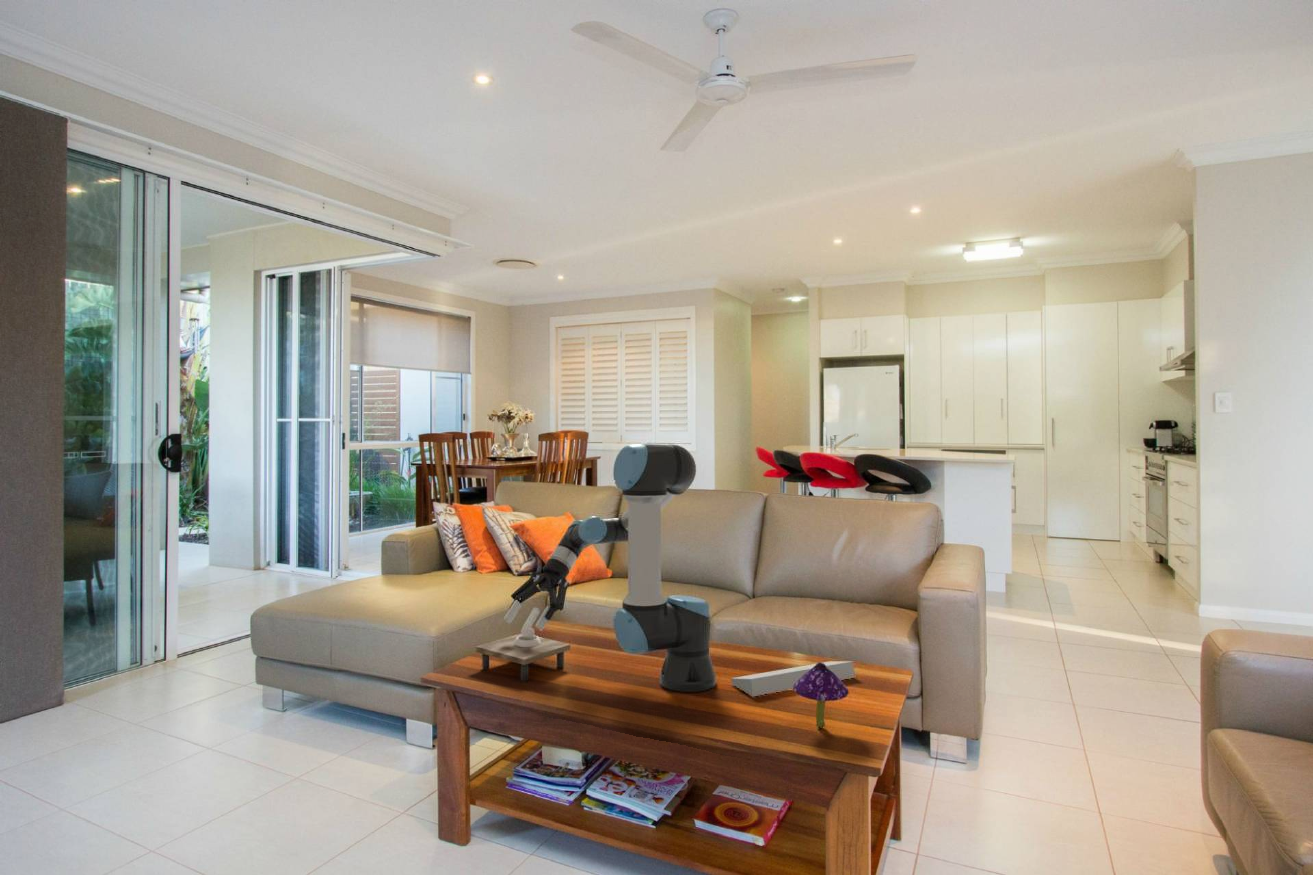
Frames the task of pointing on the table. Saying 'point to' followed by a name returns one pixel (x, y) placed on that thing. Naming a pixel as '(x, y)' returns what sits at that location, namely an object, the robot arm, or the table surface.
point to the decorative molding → (787, 678)
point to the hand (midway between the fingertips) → (522, 624)
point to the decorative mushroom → (820, 688)
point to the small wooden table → (522, 652)
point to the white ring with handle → (528, 632)
